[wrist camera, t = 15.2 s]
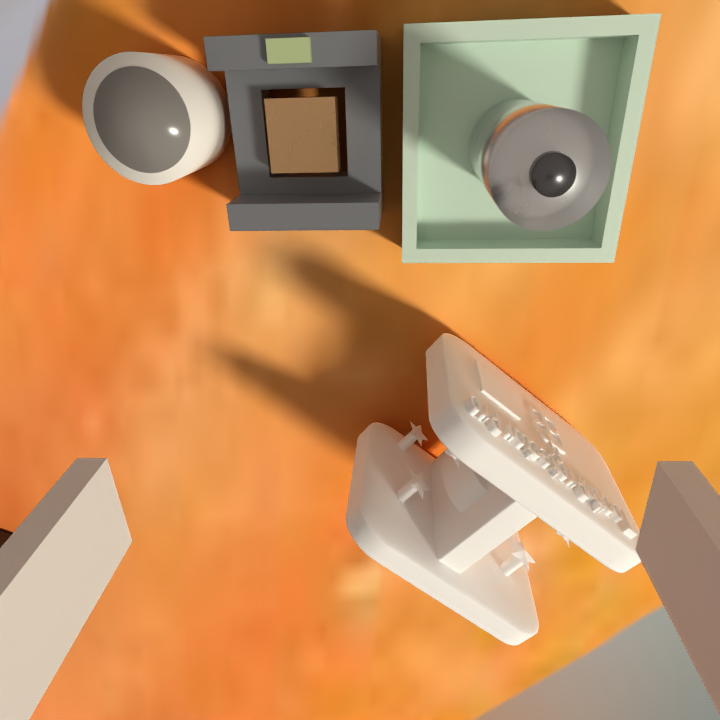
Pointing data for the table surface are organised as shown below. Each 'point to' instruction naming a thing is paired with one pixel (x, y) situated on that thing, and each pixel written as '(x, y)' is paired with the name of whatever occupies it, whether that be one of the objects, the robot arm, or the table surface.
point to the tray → (504, 82)
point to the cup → (155, 115)
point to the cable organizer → (482, 493)
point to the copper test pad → (303, 134)
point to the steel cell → (540, 162)
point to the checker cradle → (248, 120)
